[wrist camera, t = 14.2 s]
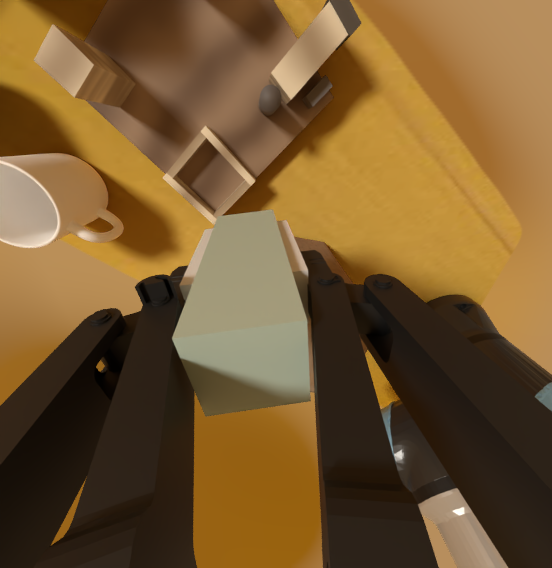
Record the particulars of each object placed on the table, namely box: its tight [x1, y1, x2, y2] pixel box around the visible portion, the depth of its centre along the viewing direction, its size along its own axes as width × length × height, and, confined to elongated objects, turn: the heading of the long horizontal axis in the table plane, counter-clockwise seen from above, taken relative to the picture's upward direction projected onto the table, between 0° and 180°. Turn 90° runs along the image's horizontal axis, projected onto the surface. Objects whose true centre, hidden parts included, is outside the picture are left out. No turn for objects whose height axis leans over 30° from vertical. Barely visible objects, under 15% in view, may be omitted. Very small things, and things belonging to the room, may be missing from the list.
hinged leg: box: [269, 0, 361, 104], centre depth 24 cm, size 8×3×4 cm, turn 134°
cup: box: [0, 153, 124, 248], centre depth 28 cm, size 8×12×10 cm
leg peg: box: [172, 210, 310, 416], centre depth 12 cm, size 4×4×11 cm
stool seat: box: [34, 0, 334, 224], centre depth 24 cm, size 20×20×10 cm
